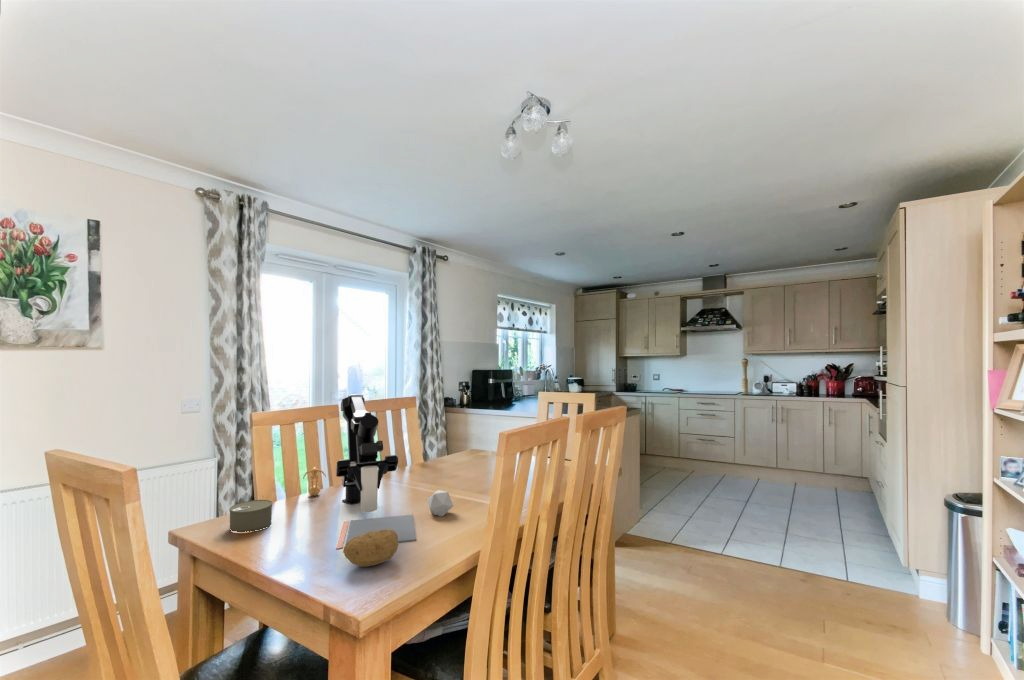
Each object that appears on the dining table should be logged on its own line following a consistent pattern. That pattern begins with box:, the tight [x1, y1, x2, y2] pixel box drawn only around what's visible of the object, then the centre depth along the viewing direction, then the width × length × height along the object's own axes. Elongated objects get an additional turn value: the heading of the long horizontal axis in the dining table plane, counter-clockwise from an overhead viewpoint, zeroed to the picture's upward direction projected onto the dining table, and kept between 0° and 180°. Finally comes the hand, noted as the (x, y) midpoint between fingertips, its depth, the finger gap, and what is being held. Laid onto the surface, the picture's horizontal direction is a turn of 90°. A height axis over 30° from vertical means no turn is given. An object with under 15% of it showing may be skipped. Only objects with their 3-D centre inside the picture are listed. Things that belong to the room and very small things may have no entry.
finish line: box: [335, 520, 350, 550], centre depth 137 cm, size 22×2×1 cm, turn 15°
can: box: [229, 499, 273, 532], centre depth 144 cm, size 12×12×7 cm
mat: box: [344, 514, 418, 546], centre depth 140 cm, size 20×22×1 cm
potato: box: [342, 529, 399, 568], centre depth 117 cm, size 10×14×8 cm
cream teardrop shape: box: [360, 466, 379, 513], centre depth 140 cm, size 5×5×13 cm
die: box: [426, 489, 454, 518], centre depth 155 cm, size 8×9×10 cm
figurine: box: [302, 465, 327, 497], centre depth 176 cm, size 8×6×12 cm
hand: (369, 489), depth 138 cm, fingers closed on cream teardrop shape, 5 cm apart
